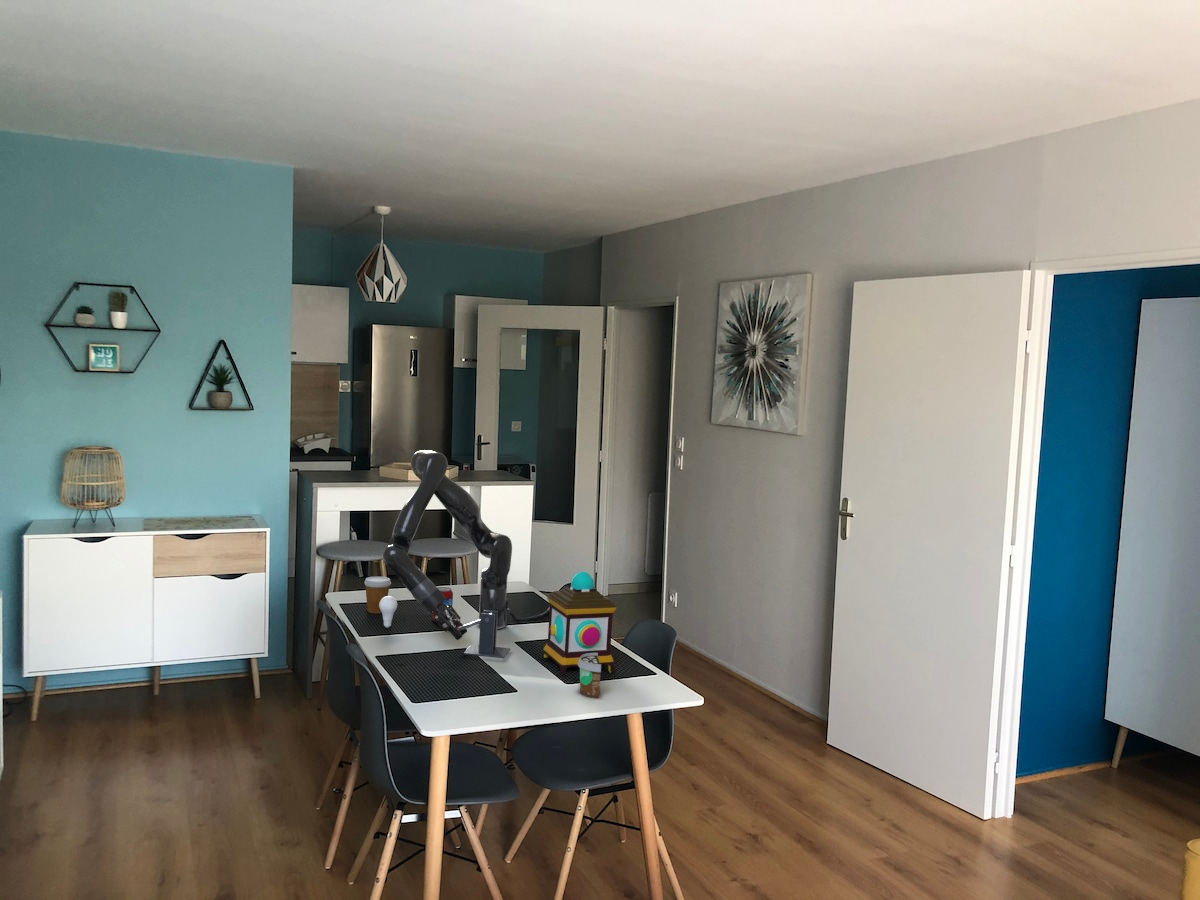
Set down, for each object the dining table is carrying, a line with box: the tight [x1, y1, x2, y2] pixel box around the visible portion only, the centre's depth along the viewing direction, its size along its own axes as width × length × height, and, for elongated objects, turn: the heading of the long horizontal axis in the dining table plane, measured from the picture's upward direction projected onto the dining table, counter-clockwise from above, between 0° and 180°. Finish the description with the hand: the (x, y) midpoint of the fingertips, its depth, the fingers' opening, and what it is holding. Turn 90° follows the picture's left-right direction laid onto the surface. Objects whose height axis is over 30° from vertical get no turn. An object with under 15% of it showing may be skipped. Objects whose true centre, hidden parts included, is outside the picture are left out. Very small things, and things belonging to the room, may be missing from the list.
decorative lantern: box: [542, 570, 617, 674], centre depth 292 cm, size 20×20×30 cm
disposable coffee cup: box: [363, 576, 392, 614], centre depth 343 cm, size 10×10×12 cm
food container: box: [577, 653, 602, 699], centre depth 269 cm, size 12×6×10 cm, turn 5°
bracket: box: [462, 610, 511, 659], centre depth 298 cm, size 13×10×14 cm
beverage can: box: [432, 586, 454, 622], centre depth 334 cm, size 7×7×12 cm
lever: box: [457, 613, 493, 631], centre depth 298 cm, size 13×6×2 cm, turn 84°
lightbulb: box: [379, 595, 398, 629], centre depth 322 cm, size 6×6×11 cm
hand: (462, 635), depth 299 cm, fingers closed on lever, 5 cm apart
